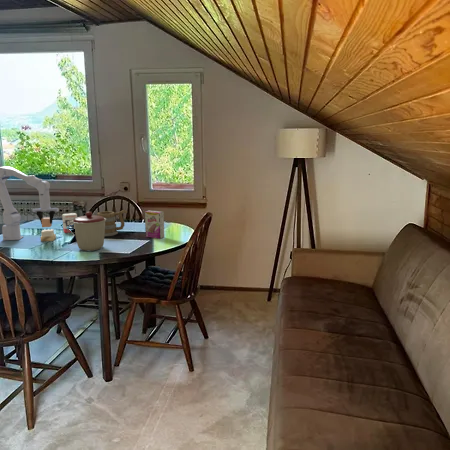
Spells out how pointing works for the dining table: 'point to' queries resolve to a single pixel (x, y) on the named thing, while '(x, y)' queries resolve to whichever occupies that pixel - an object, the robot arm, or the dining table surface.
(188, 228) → the dining table surface
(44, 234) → the off-white slab
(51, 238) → the beech slab
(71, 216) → the ink box
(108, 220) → the tankard
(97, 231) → the canister
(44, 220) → the terracotta block
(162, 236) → the candy bar box
